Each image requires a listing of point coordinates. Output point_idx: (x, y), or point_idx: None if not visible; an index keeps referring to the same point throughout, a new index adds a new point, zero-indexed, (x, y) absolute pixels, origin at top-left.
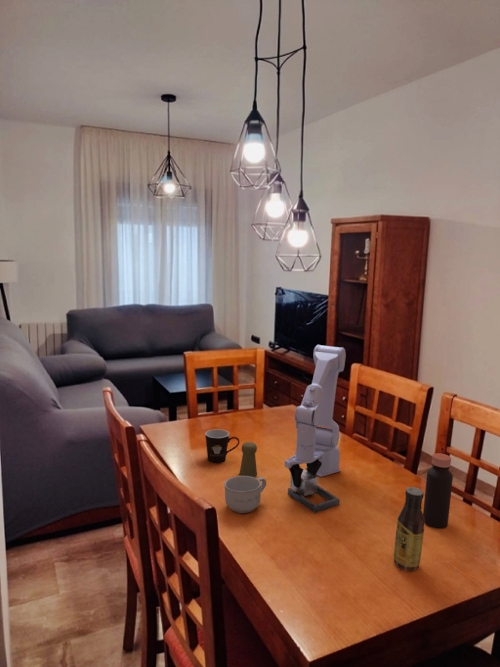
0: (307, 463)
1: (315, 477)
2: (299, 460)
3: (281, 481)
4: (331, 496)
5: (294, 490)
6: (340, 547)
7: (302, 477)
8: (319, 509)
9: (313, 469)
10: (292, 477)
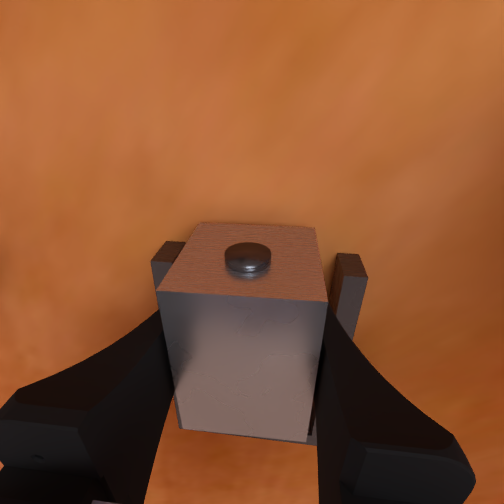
0: (338, 423)
1: (287, 437)
2: None
3: (233, 50)
4: (313, 420)
5: None
6: (152, 496)
7: (194, 396)
8: None
9: (320, 453)
10: (144, 325)
